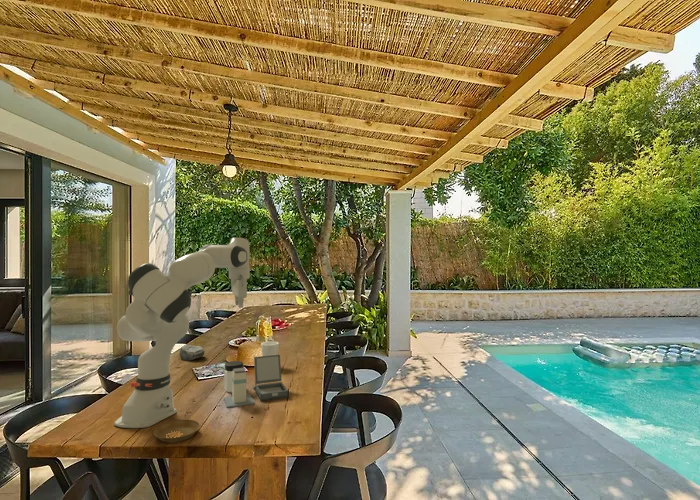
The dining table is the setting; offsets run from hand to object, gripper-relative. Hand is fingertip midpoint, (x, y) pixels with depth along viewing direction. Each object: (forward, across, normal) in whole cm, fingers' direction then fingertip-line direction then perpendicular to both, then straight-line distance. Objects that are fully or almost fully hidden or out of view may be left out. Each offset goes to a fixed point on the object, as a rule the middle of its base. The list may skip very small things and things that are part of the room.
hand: (239, 306), depth 181 cm
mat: (+39, -8, +1) cm, 40 cm away
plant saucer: (+40, -32, +25) cm, 57 cm away
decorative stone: (+40, +73, +16) cm, 85 cm away
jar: (+39, +8, +1) cm, 40 cm away
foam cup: (+39, +38, -22) cm, 59 cm away
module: (+38, -8, +1) cm, 39 cm away
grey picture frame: (+30, +3, -13) cm, 33 cm away
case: (+39, -2, -13) cm, 41 cm away
